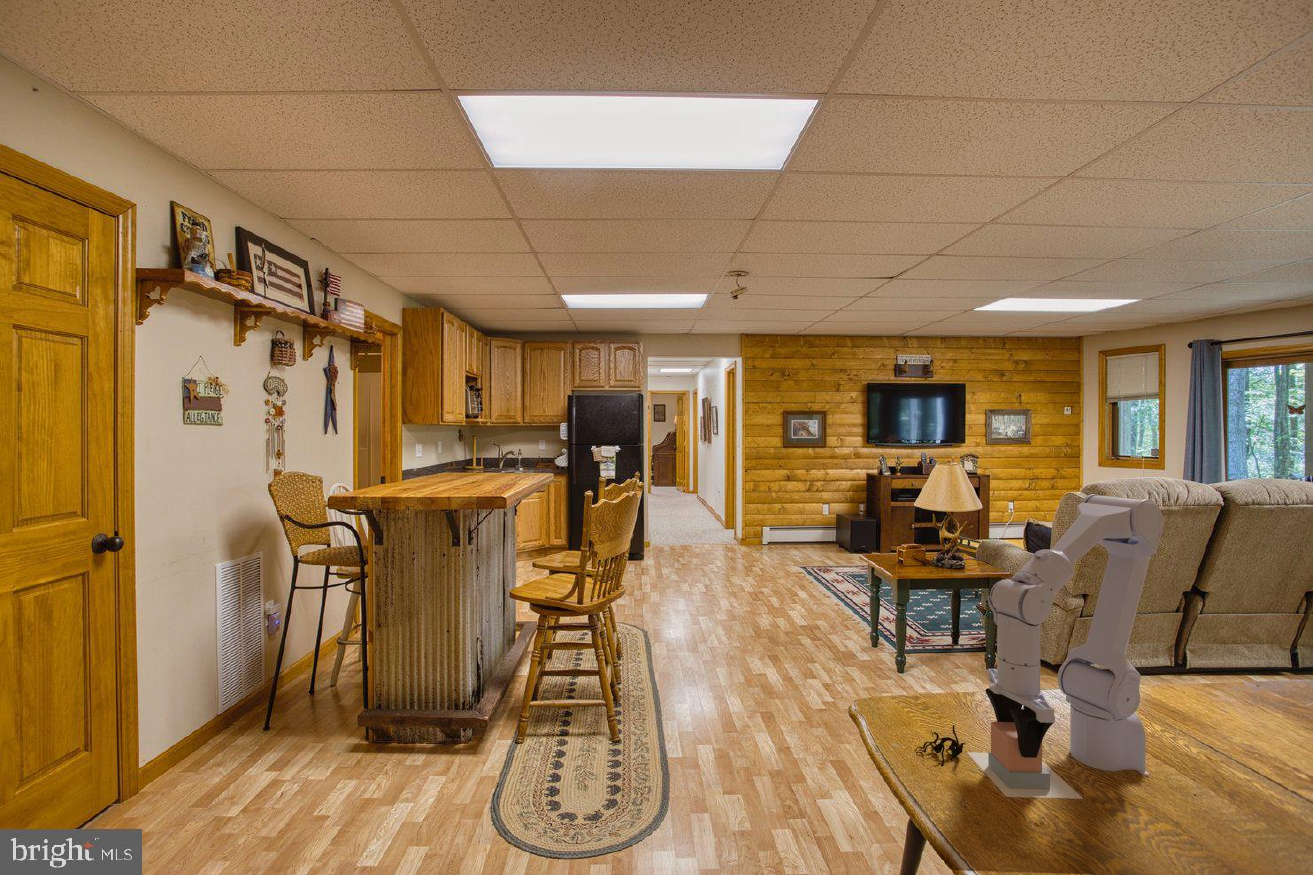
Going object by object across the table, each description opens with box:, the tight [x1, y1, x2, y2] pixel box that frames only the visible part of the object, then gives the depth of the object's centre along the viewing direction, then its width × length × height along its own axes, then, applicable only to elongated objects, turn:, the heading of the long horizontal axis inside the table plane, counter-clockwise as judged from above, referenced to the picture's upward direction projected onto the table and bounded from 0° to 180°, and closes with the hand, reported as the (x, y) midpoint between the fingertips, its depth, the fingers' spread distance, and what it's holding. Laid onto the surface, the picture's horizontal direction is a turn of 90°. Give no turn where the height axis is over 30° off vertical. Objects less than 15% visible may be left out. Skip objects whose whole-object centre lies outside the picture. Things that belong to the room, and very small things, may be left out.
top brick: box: [990, 721, 1043, 772], centre depth 91 cm, size 5×5×5 cm
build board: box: [966, 751, 1084, 800], centre depth 92 cm, size 11×12×1 cm
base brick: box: [987, 750, 1050, 790], centre depth 91 cm, size 6×6×2 cm
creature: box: [914, 724, 967, 767], centre depth 98 cm, size 8×5×8 cm
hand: (1018, 746), depth 91 cm, fingers closed on top brick, 5 cm apart
